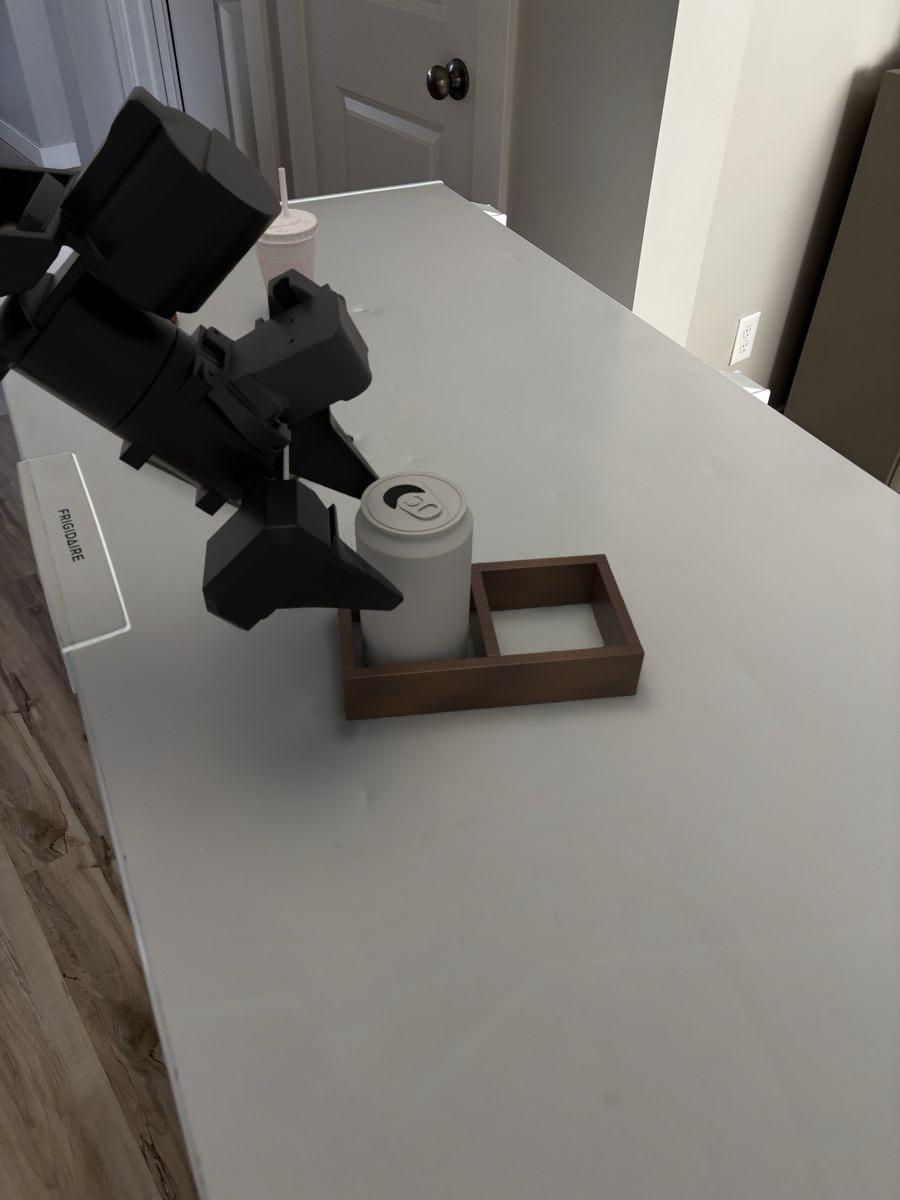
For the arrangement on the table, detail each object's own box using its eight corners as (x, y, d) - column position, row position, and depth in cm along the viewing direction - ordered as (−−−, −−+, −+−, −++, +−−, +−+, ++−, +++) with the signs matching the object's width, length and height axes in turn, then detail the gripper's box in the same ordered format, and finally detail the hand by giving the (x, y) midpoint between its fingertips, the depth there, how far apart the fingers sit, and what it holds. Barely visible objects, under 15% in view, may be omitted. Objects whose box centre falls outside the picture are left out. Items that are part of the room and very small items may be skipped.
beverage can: (417, 608, 60) (416, 451, 52) (489, 659, 57) (499, 501, 49) (341, 656, 57) (327, 497, 49) (412, 714, 54) (410, 553, 46)
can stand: (345, 720, 53) (341, 679, 51) (338, 614, 60) (335, 573, 57) (636, 694, 55) (645, 653, 53) (598, 593, 62) (605, 553, 59)
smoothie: (339, 317, 91) (328, 167, 82) (297, 342, 87) (281, 187, 78) (288, 301, 94) (273, 154, 84) (246, 325, 90) (224, 173, 80)
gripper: (244, 352, 32) (533, 569, 41) (256, 174, 46) (470, 365, 54) (70, 546, 37) (363, 705, 45) (128, 331, 50) (345, 484, 59)
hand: (390, 547), depth 51 cm, fingers open, 9 cm apart
